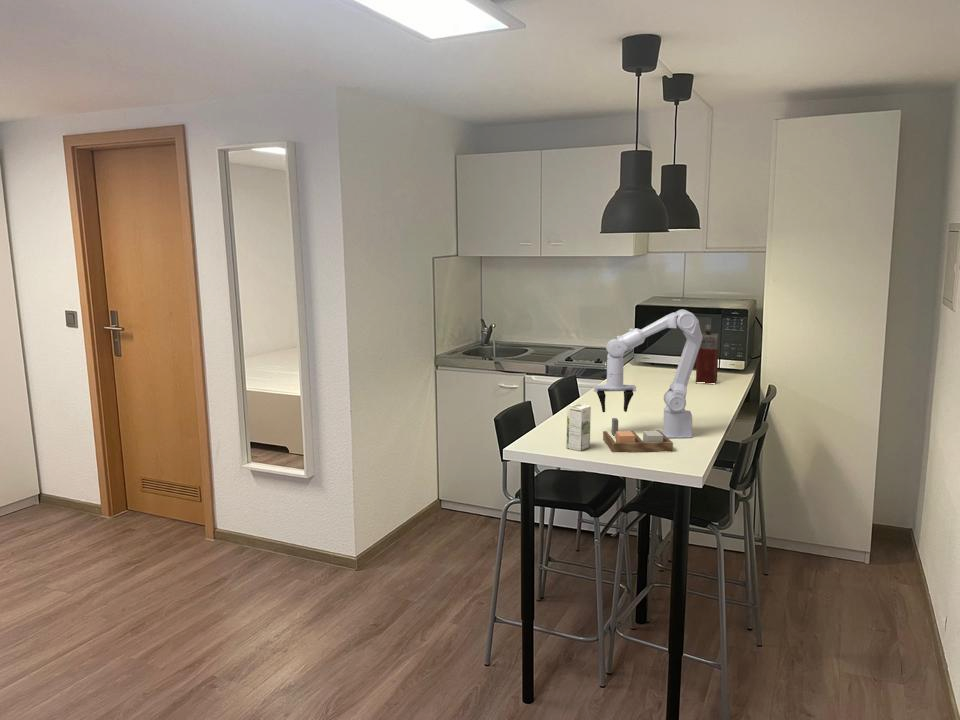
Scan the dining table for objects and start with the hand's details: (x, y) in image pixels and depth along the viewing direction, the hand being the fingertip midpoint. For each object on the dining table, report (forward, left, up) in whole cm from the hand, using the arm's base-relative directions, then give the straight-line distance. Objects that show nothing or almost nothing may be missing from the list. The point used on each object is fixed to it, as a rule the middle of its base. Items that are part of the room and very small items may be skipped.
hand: (614, 411), depth 258 cm
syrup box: (+15, +17, -9) cm, 24 cm away
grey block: (-9, +18, -8) cm, 22 cm away
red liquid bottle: (-64, -93, -9) cm, 113 cm away
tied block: (0, +10, -8) cm, 13 cm away
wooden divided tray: (-5, +15, -8) cm, 17 cm away
